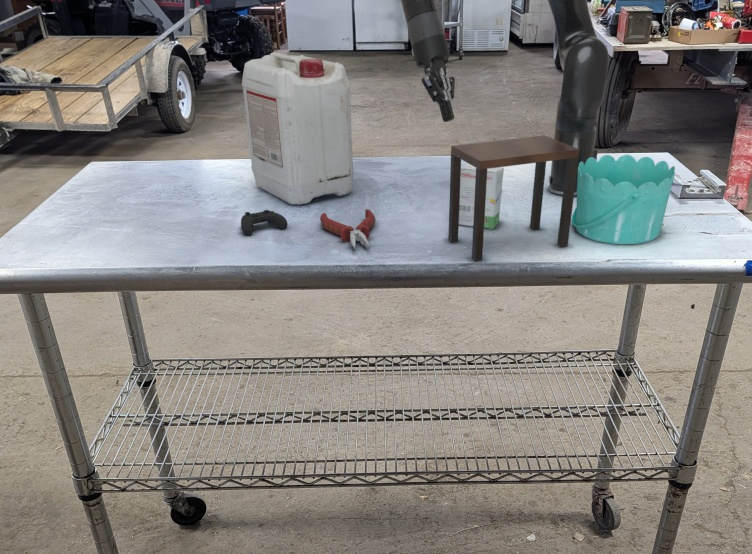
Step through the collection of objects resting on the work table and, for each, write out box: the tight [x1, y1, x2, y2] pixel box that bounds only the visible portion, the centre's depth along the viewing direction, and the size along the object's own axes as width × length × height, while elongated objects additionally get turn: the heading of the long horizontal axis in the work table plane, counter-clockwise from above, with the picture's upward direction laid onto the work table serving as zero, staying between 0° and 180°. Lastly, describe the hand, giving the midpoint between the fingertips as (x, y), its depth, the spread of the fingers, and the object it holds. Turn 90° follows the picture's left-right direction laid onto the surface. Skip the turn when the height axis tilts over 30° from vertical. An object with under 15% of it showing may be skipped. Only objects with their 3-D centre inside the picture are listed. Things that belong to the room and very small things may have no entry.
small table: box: [447, 135, 579, 262], centre depth 136 cm, size 20×12×18 cm, turn 110°
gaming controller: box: [240, 209, 288, 236], centre depth 151 cm, size 10×5×6 cm
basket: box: [571, 154, 676, 246], centre depth 143 cm, size 19×18×13 cm
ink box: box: [459, 162, 505, 230], centre depth 148 cm, size 9×5×12 cm, turn 65°
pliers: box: [319, 208, 376, 251], centre depth 145 cm, size 12×20×3 cm, turn 12°
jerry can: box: [241, 51, 355, 206], centre depth 166 cm, size 24×19×30 cm
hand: (449, 120), depth 158 cm, fingers closed
